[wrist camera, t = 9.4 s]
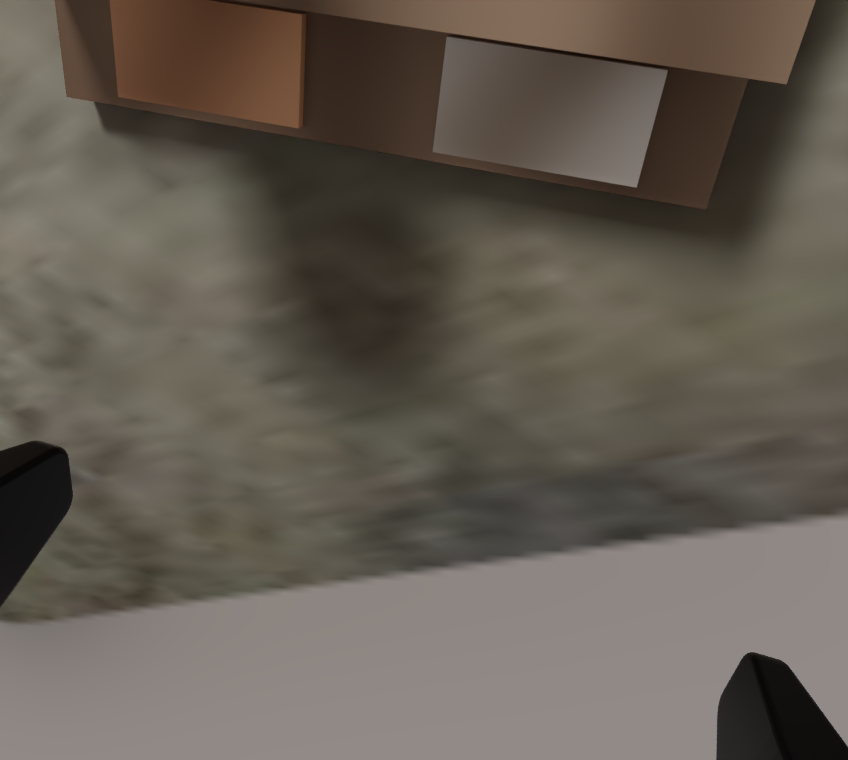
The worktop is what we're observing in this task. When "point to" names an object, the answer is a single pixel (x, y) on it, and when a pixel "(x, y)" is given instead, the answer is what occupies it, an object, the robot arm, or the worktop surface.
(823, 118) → the worktop surface
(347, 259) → the worktop surface
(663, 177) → the caddy
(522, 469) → the worktop surface
